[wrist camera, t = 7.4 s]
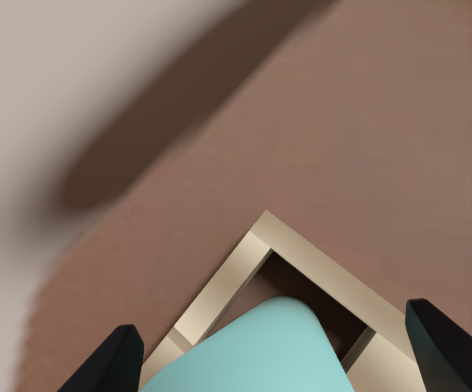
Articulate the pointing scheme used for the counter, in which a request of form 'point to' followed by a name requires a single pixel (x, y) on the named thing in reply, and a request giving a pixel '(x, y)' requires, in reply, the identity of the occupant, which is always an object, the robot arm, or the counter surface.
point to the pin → (259, 355)
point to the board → (325, 277)
